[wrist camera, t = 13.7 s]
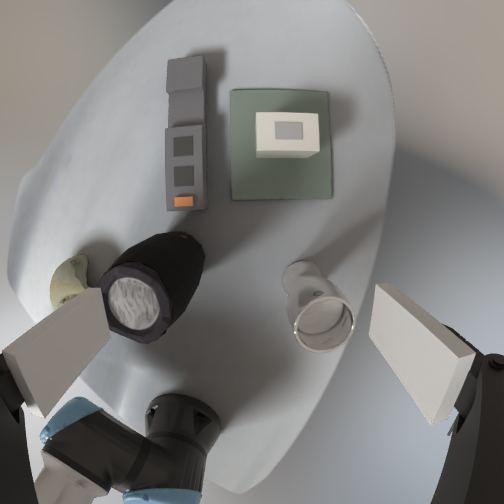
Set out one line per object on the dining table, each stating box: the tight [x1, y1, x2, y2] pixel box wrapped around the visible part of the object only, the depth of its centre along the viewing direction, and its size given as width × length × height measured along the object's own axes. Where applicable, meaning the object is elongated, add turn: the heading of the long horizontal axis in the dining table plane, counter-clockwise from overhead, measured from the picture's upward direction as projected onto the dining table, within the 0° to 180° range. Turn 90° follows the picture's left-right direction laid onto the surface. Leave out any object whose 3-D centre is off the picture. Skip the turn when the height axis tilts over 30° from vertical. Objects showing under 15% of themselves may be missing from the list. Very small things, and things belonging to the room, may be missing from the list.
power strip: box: [165, 55, 208, 211], centre depth 35 cm, size 22×5×4 cm, turn 1°
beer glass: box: [282, 261, 356, 353], centre depth 35 cm, size 7×7×15 cm
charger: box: [255, 112, 320, 158], centre depth 33 cm, size 4×7×8 cm, turn 91°
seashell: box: [50, 255, 90, 311], centre depth 39 cm, size 13×8×10 cm
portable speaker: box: [97, 232, 205, 344], centre depth 32 cm, size 8×9×19 cm
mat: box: [230, 90, 331, 200], centre depth 37 cm, size 16×14×1 cm
